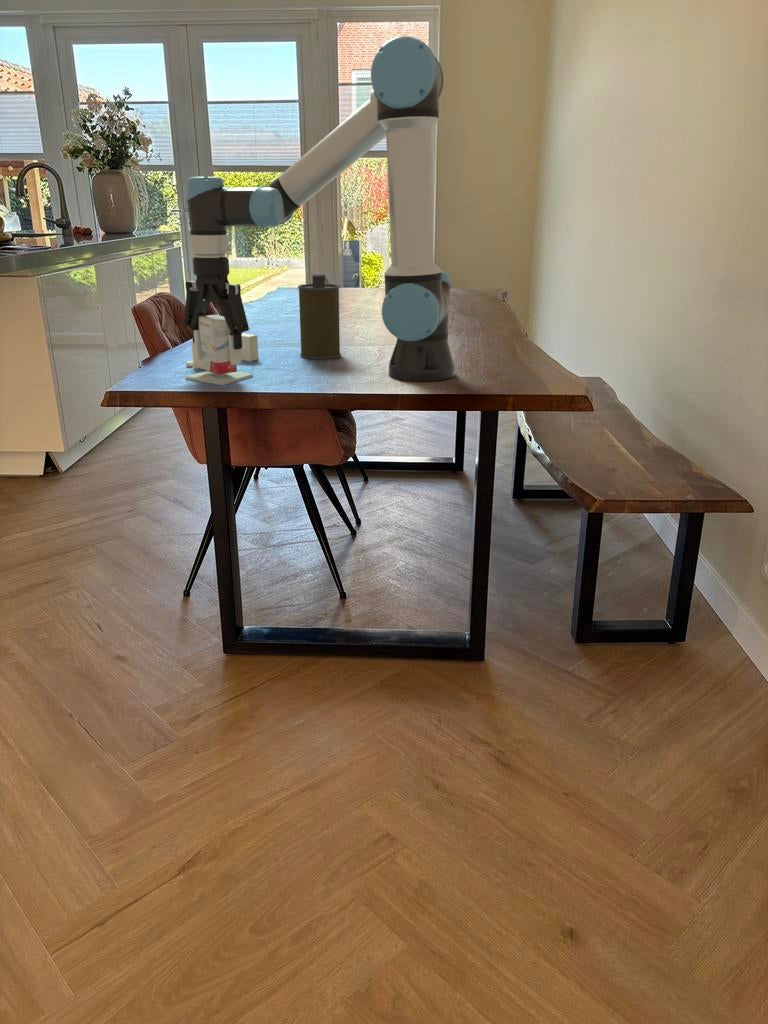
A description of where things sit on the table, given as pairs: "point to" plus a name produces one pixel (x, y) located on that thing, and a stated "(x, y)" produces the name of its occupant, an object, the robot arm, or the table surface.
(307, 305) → the canister
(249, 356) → the holder
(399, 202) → the robot arm
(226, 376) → the mat
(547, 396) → the table surface
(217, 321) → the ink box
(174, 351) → the table surface
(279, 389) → the table surface
